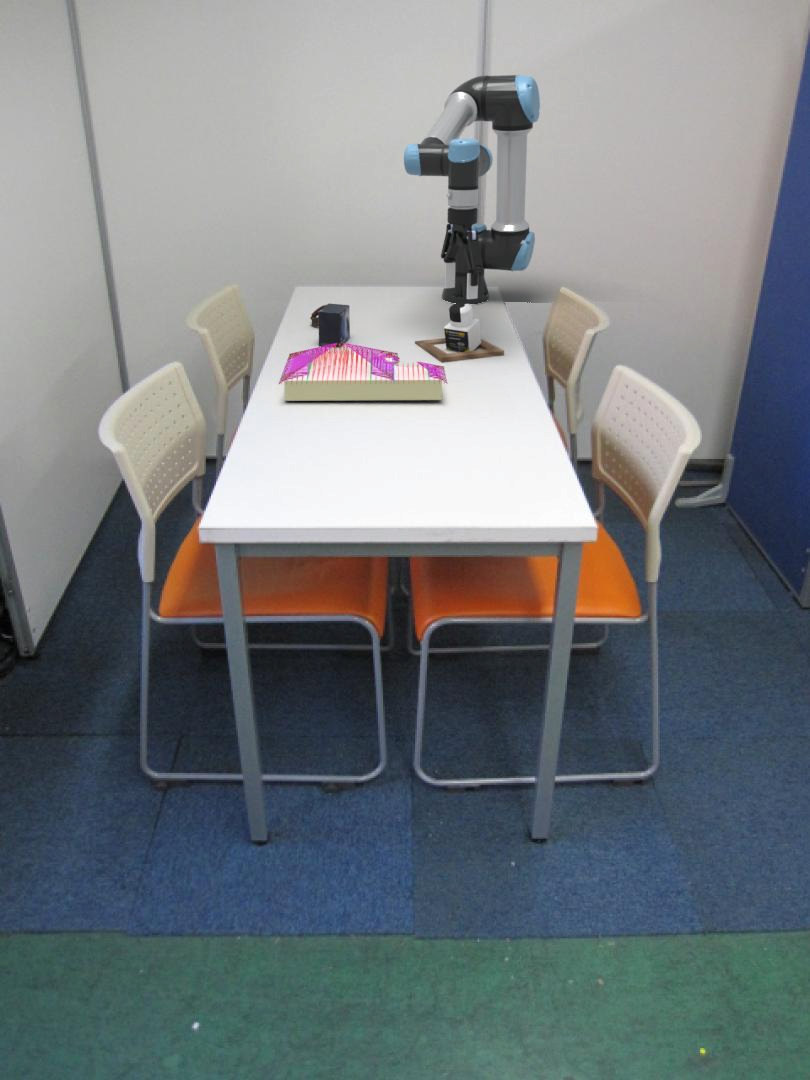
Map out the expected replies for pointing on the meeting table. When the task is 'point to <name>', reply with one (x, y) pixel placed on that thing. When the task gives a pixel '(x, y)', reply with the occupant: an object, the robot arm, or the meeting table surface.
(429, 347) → the brown square frame
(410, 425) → the meeting table surface
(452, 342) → the medicine bottle
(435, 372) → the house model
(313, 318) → the pottery mug
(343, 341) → the small box
